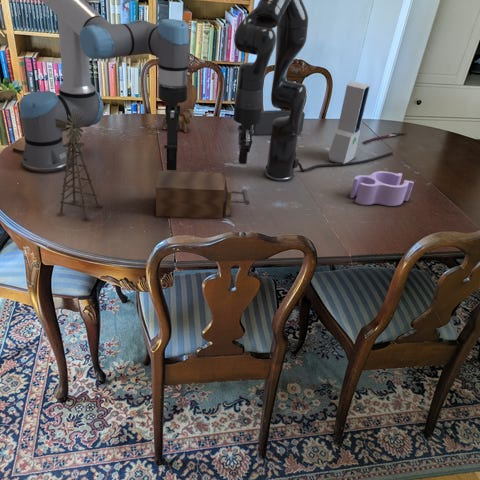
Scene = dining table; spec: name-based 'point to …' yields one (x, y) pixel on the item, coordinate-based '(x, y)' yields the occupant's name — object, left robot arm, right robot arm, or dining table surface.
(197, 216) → the cabinet
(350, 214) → the dining table surface
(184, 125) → the lion figurine
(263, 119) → the handheld gaming console
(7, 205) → the dining table surface
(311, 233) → the dining table surface
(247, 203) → the drawer
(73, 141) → the miniature windmill
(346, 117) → the electronic device
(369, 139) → the sword
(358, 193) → the clip
